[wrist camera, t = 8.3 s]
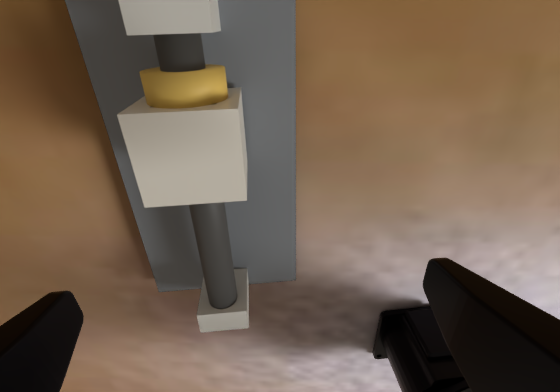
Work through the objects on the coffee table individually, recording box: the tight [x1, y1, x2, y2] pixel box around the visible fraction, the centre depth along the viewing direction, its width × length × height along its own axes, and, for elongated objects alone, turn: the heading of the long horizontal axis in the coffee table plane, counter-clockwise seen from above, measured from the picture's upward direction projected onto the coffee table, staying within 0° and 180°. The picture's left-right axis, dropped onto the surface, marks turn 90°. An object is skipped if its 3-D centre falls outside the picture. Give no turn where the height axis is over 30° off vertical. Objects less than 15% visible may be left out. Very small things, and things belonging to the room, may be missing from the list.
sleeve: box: [117, 88, 247, 208], centre depth 14 cm, size 4×4×4 cm
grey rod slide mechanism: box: [65, 0, 296, 333], centre depth 16 cm, size 18×10×5 cm, turn 2°
